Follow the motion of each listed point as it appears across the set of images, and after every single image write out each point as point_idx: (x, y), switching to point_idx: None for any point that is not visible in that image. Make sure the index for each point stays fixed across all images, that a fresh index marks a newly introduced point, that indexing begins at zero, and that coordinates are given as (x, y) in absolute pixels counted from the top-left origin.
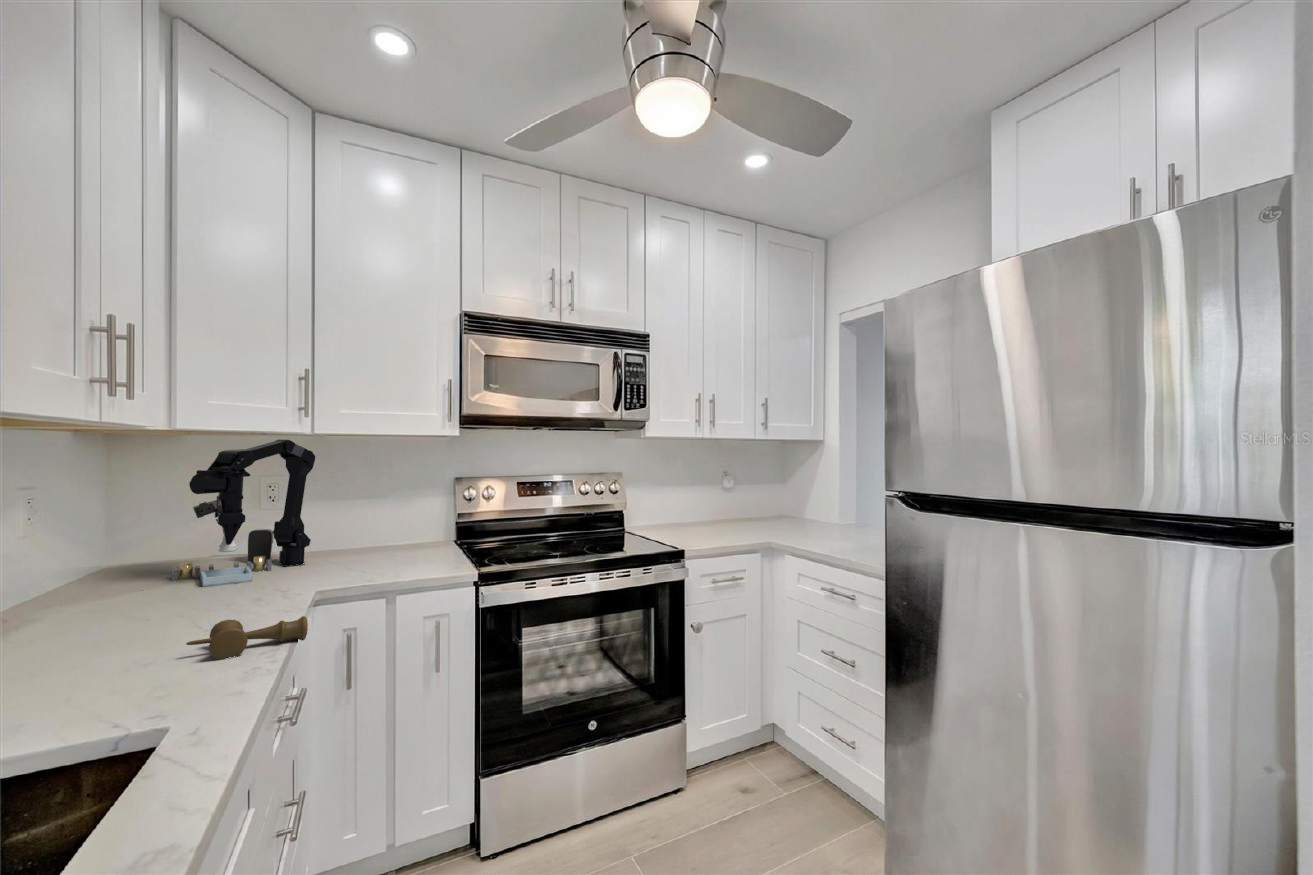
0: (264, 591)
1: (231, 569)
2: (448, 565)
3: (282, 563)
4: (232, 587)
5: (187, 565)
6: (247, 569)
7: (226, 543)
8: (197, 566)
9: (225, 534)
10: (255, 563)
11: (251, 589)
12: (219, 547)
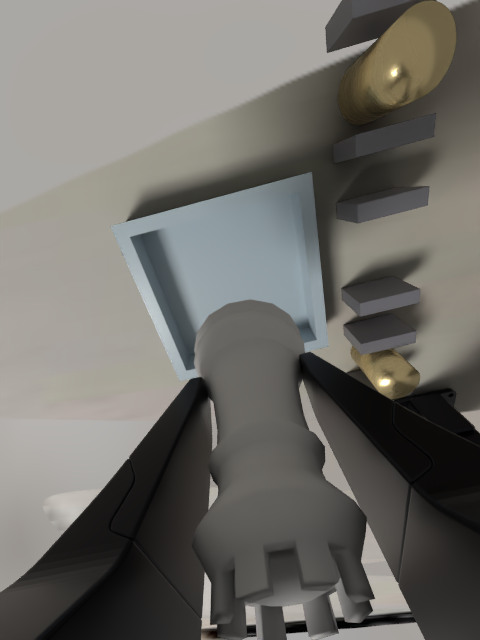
0: (35, 408)
1: (309, 295)
2: None
3: (409, 404)
4: (104, 322)
5: (377, 73)
6: None
7: (187, 385)
8: (410, 131)
9: (132, 461)
10: (371, 360)
11: (66, 375)
12: (223, 318)
